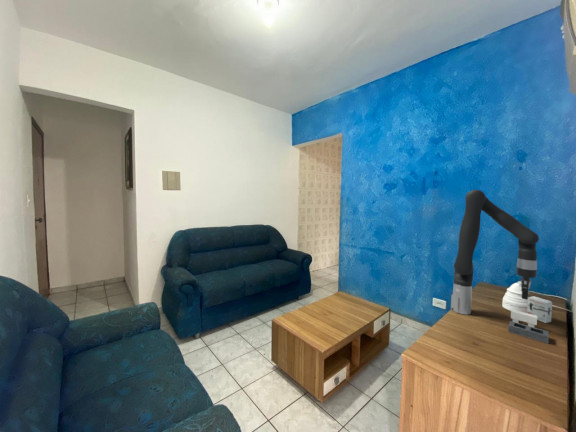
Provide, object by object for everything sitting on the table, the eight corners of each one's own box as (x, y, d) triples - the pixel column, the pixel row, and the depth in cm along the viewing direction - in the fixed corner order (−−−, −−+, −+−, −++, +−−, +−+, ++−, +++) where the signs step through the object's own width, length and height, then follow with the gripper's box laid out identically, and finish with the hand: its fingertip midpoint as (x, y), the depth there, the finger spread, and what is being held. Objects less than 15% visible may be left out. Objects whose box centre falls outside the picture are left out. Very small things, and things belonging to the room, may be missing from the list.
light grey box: (510, 323, 130) (511, 311, 130) (510, 321, 132) (511, 309, 132) (536, 330, 123) (537, 317, 122) (536, 328, 125) (537, 315, 124)
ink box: (526, 316, 138) (527, 296, 137) (531, 315, 139) (533, 295, 139) (546, 323, 130) (547, 302, 129) (551, 322, 131) (552, 301, 131)
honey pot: (536, 313, 141) (538, 284, 140) (515, 313, 141) (517, 284, 140) (516, 304, 154) (518, 277, 153) (496, 304, 154) (498, 277, 153)
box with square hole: (508, 331, 122) (508, 325, 121) (509, 326, 126) (509, 320, 126) (548, 343, 111) (548, 336, 111) (548, 338, 116) (548, 331, 116)
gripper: (536, 271, 118) (534, 302, 119) (537, 266, 127) (535, 295, 128) (515, 268, 123) (514, 298, 124) (517, 263, 133) (516, 291, 134)
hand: (525, 296), depth 126 cm, fingers open, 8 cm apart
